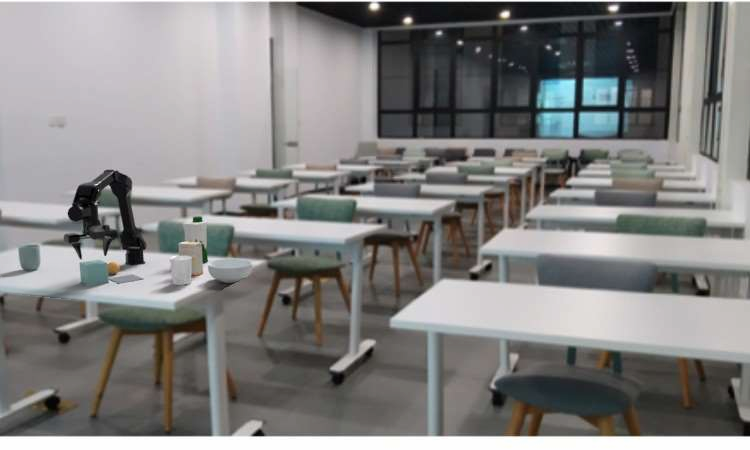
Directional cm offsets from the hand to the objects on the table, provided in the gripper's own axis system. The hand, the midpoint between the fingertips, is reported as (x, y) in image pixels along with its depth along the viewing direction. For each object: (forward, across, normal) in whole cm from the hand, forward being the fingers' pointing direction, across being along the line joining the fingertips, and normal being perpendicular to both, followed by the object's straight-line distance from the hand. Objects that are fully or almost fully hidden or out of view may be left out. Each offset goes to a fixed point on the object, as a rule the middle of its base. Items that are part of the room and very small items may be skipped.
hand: (93, 257), depth 251 cm
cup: (+10, -11, +40) cm, 43 cm away
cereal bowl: (+10, +40, -33) cm, 53 cm away
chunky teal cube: (+10, 0, 0) cm, 10 cm away
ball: (+7, +11, +9) cm, 16 cm away
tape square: (+10, +11, -3) cm, 15 cm away
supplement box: (+10, +34, -13) cm, 38 cm away
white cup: (+10, +24, -24) cm, 35 cm away
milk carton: (+10, +46, +5) cm, 47 cm away
